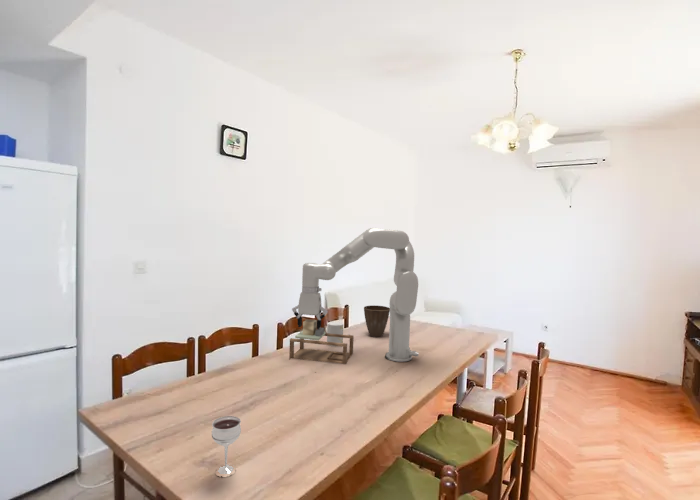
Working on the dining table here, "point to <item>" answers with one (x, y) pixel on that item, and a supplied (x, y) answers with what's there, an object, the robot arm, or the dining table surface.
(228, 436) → the wineglass
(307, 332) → the maple block
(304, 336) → the lid
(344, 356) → the wooden table frame
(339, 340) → the cup
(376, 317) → the plant pot
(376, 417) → the dining table surface
